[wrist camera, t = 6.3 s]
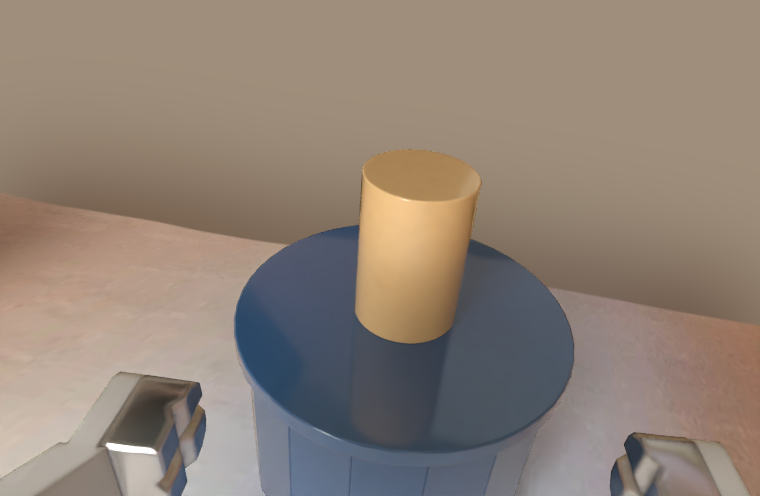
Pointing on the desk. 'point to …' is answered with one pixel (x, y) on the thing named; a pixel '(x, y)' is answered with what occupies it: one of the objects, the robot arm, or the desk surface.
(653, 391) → the desk surface
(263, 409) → the pot
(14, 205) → the desk surface
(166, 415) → the robot arm
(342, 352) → the lid
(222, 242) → the desk surface
